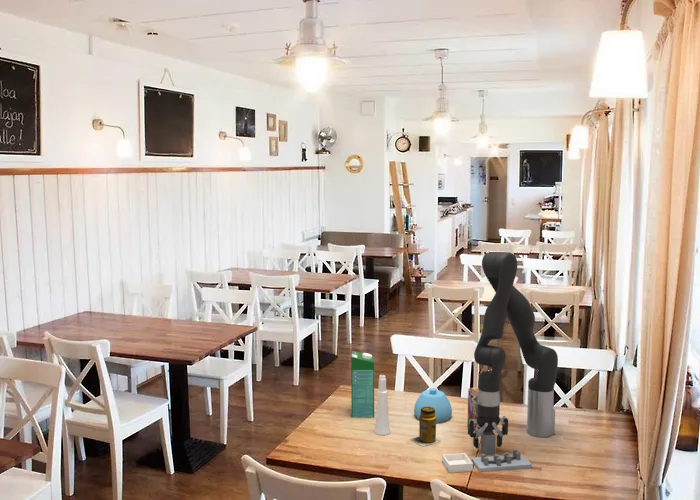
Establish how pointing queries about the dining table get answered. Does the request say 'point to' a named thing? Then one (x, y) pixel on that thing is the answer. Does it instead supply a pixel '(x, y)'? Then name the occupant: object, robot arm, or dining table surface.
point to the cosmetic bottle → (382, 409)
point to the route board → (501, 462)
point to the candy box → (472, 405)
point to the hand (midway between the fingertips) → (487, 446)
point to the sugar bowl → (434, 404)
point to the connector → (488, 442)
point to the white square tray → (457, 462)
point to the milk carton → (362, 384)
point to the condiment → (427, 427)
